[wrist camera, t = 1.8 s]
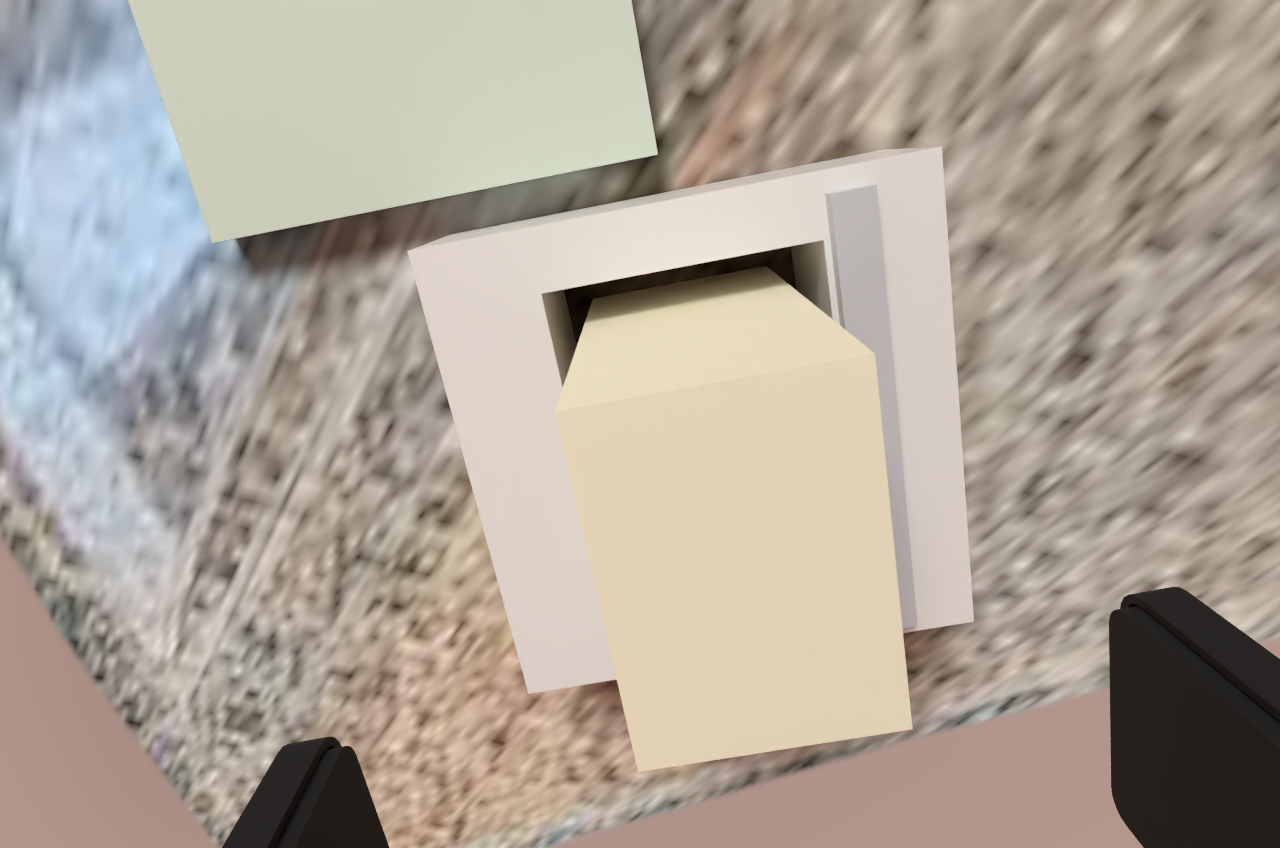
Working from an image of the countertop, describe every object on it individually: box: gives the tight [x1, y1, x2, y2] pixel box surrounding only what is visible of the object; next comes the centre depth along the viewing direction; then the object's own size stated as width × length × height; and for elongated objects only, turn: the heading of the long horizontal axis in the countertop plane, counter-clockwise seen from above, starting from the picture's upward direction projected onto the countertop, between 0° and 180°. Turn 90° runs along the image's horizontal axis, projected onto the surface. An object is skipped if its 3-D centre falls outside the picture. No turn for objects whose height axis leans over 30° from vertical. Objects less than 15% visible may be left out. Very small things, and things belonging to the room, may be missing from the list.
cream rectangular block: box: [555, 266, 913, 772], centre depth 19 cm, size 5×7×11 cm
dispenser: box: [407, 147, 974, 694], centre depth 21 cm, size 12×12×5 cm
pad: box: [128, 0, 658, 243], centre depth 20 cm, size 12×9×1 cm
